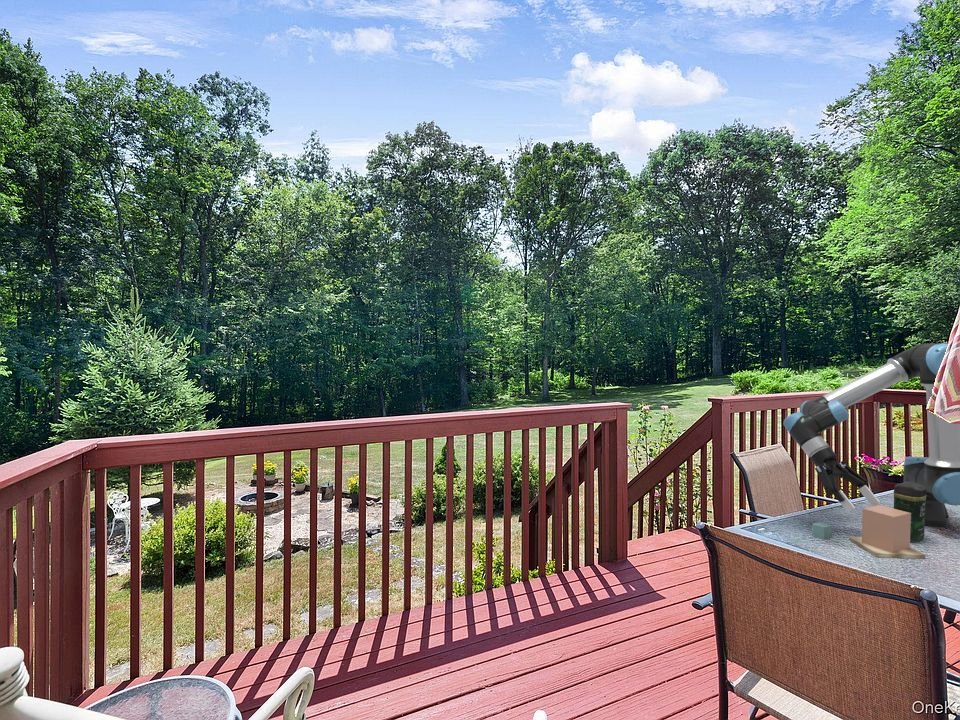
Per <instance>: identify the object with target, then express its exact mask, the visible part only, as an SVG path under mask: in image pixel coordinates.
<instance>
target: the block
mask: <svg viewBox="0 0 960 720" xmlns="http://www.w3.org/2000/svg"><path fill="white" fill-rule="evenodd" d="M811 526H812V528H811V535H812V536H813V535H814V536H813V537H816V536H817V538H819V537H820V538H819V539H822V540H827V539H831V538H833V537H832V536H833V535H832V534H833V526H832V525H830V524H826V523H823V522H820V521H818V522H814V523H812V525H811ZM830 537H831V538H830ZM826 538H827V539H826Z"/></svg>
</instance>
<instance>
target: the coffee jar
mask: <svg viewBox="0 0 960 720" xmlns="http://www.w3.org/2000/svg"><path fill="white" fill-rule="evenodd" d="M903 482H904V481H903ZM903 482H900V483H897V484H895V485H894V487H893V509H897V510H901V511H905V512H909V513H911V528H910V542H912V543H913V542H914V543H917V542H918V543H919V542H921V541H922V540H923V539H925V530H926V529H925V526H926V525H925V502H926V488H925V487H924V486H923V485H922V484H920V483H915V482H910V481H908V482H904V483H903Z"/></svg>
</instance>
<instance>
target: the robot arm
mask: <svg viewBox="0 0 960 720" xmlns="http://www.w3.org/2000/svg"><path fill="white" fill-rule="evenodd" d="M948 344H949V343H921V344H917V345H915V346H912V347H909V348H908V349H905V350H904V351H902V352H899V353H898V354H896V355H894V356H892V357H890V358H888V359H887V361H886V363H885V364H883V365H881V366H879V367H877V368H875V369H873V370H871V371H869V372H868V373H865V374H863V375H861V376H859V377H857V378H855V379H853V380H851V381H849V382H848V383H846V384H843V385H842V386H839V387H837V388H836V389H834V390H832V391H829V392H828V393H826V394H823V395H822V396H820V397H817V398H816V399H812V400H811V399H809V400H805V401H804V402H803V403H802V404H800V407H799V411H797V412H794V413H792V414H789V415H788V416H787V417H785V418H784V420H783V423H782V425H783V426H784V428H785V429H786V431H788V434H789V435H790V436H791V437H792V438H793V440H794V441H795V442H796V443H797V445H798V446H799V447H800V448H801V449H802V451H803V452H804V453H805V455H807V457H808V458H810V459H809V460H810V461H811V462H812V463H813V465H814V466H815V467H814V470H815V472H816V473H817V474H818V477H819V479H820V482H821V485H822V487H823V490H824V492H825V493H826V494H828V495H829V496H834V497H835V499H836V500H837V501H838V502H839V503H840V505H841V506H842V507H843V509H844V510H845V512H846V513H850V512H851V511H854V510H855V509H856V507H855V506H854V504H853V503H852V502H851V501H850V499H849V498H848V497H847V495H846V494H845V493H844V491H842V490H841V489H840V490H839V485H838V479H837V478H840V479H844V480H845V481H847V482H849V483H850V484H852V485H853V486H855V487H856V488H858V491H859V492H860V494H861V495H862V496H863V497H864V498H865V500H866V501H867V502H868V503H869V504H870V506H871V507H873V506H877V505H878V504H879V505H880V503H881V501H880V500H879V499H878V498H877V496H876V495H875V494H874V493H873V492H872V491H871V489H870V488H869V487H868V486H867V485H868V484H869V481H868V480H867V479H866V478H865V477H863V476H862V475H861V474H860V473H859V472H857V471H856V470H854V469H853V468H852V467H851V466H849V464H848V463H846V461H844V460H842V461H840V462H838V460H837V457H838V456H837V454H836V453H835V451H834V450H833V449H832V448H831V447H830V445H829V444H828V443H827V442H826V440H825V439H824V438H823V437H822V436H821V433H823V432H824V431H825V432H826V430H828V429H831V428H833V427H835V426H837V425H839V424H841V423H842V422H844V421H846V420H848V419H849V417H850V415H849V412H848V410H847V408H848V407H851V406H853V405H855V404H857V403H859V402H861V401H863V400H865V399H866V398H869V397H871V396H873V395H875V394H877V393H879V392H881V391H883V390H884V389H888V388H889V387H891V386H894V385H895V384H897V383H899V382H908V381H910V380H913V379H915V378H919V384H920V385H921V386H923V388H924V389H925V394H926V396H925V398H926V405H927V404H928V401H929V399H930V397H931V396H932V389H933V387H934V382H935V378H936V375H937V372H938V370H939V367H940V364H941V362H942V359H943V357H944V355H945V352H946V348H947V346H948ZM926 414H927V416H926V417H927V433H928V434H927V436H928V437H927V438H928V454H929V456H928V457H924V456H907V457H905V458H904V460H903V461H904V463H903V482H902V483H904V482H908V481H910V482H915V483H920V484H922V485H923V486H924V487H925V488H926V502H925V526H928V527H929V526H930V527H947V526H949V525H950V519H951V518H950V515H949V513H948V510H947V507H946V505H949V506H960V424H950V423H948V422H947V421H945V420H943V419H940V418H939V417H937V416H936V415H934V414H933V413H931V412H929V411H928V410H927V409H926Z"/></svg>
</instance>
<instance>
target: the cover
mask: <svg viewBox="0 0 960 720" xmlns="http://www.w3.org/2000/svg"><path fill="white" fill-rule="evenodd" d="M861 518H862V521H861V522H862V523H861V525H862V526H861V537H862V543H864V544H867V545H870V546H873V547H877V548H880V549H883V550H886V551H889V552H892V553H894V552H897V551H901V550H904V549H908V548H910V547H911V541H910V528H911V513H909V512H905V511H901V510H897V509H894V507H890V506H889V507H888V506H884V505H881V504H879V505H878V504H877V505H875V506H873V507H872V506H868V507H863V508H862V517H861Z"/></svg>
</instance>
